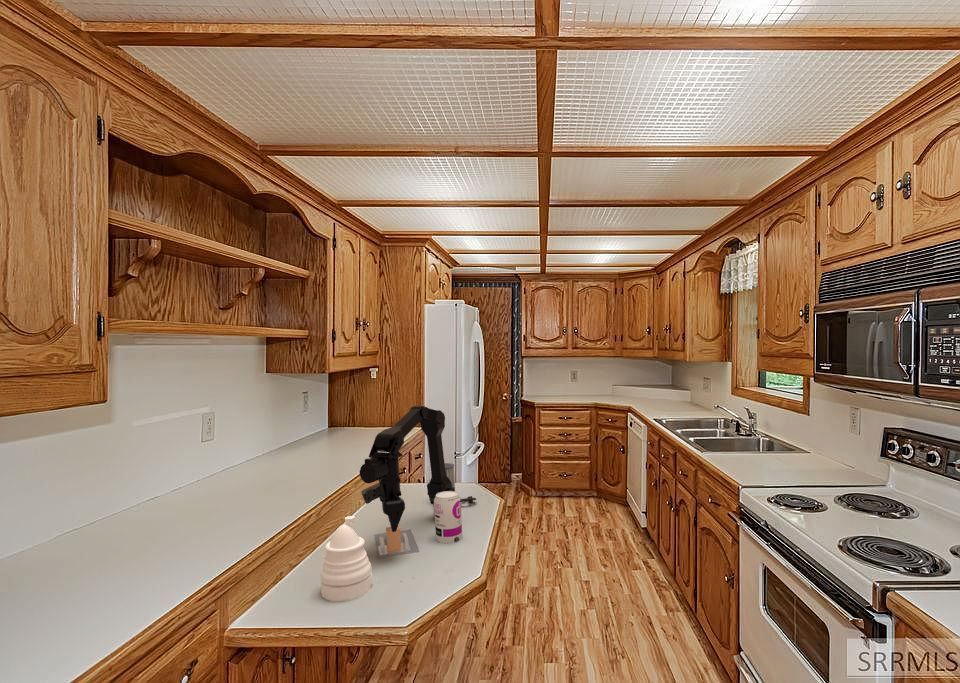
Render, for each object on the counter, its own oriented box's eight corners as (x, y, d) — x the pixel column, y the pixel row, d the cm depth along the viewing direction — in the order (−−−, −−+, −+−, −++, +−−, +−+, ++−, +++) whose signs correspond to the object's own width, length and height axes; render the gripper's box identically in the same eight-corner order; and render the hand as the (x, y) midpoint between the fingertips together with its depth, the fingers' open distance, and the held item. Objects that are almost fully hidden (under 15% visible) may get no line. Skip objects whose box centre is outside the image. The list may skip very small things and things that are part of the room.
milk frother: (430, 501, 206) (428, 464, 206) (469, 496, 211) (466, 459, 211) (438, 512, 192) (436, 472, 192) (479, 506, 197) (477, 467, 197)
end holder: (407, 543, 160) (407, 531, 160) (410, 551, 154) (410, 539, 154) (378, 547, 158) (377, 536, 158) (380, 556, 151) (379, 544, 151)
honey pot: (352, 573, 144) (348, 508, 144) (382, 585, 136) (378, 516, 136) (311, 592, 134) (307, 522, 134) (341, 606, 126) (337, 532, 126)
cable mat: (410, 532, 172) (410, 529, 172) (419, 555, 153) (419, 551, 153) (374, 538, 169) (374, 534, 169) (378, 562, 150) (378, 558, 150)
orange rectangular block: (400, 545, 158) (399, 525, 158) (401, 548, 155) (400, 528, 155) (386, 547, 157) (385, 527, 157) (387, 551, 154) (386, 530, 154)
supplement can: (466, 538, 165) (464, 491, 165) (454, 548, 157) (452, 499, 157) (444, 535, 168) (441, 489, 168) (431, 545, 160) (428, 497, 161)
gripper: (361, 470, 163) (363, 520, 162) (363, 485, 145) (366, 541, 144) (396, 466, 165) (399, 515, 165) (403, 480, 147) (406, 535, 147)
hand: (392, 526), depth 156 cm, fingers open, 9 cm apart
